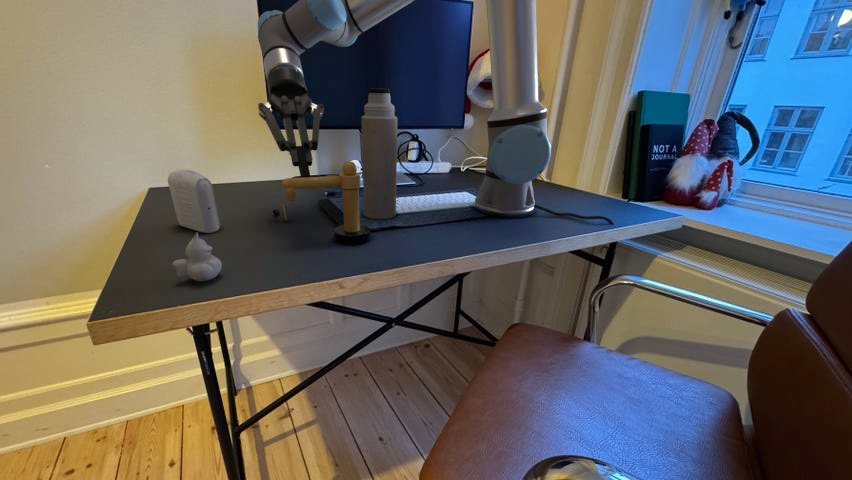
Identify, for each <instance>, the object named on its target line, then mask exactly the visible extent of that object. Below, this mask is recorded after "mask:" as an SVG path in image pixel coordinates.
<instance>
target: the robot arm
mask: <svg viewBox="0 0 852 480" xmlns="http://www.w3.org/2000/svg"><path fill="white" fill-rule="evenodd" d="M414 1H415V0H298V1H297V2H296V3H294V4H293V5H292V6H290V7H289V8H288V9H287V10H285V11H284V12H283V11H281V10H278V9H273V10H267V11H264V12H263V13H262V14H261V15H260V16H259V18H258V20H257V41H258V44H259V47H260V50H261V56H262V62H263V68H264V74H265V78H266V84H267V90H268V95H269V97H268V99H267V102H265V103H263V102H259V103H258V104H257V109H258V116H260V118H261V119H262V120H263V121H265V123H266V126H267V127H268V129H269V131H270V133H271V135H272V137H273V139H274V141H275V143H276V145H277V148H278V149H279V151H280V152H288V153H289V156H290V159H291V164H292V166H293V167H298V171H299V175H300V178H304V177H311V171H310V167H312V166H313V154H312V151H314V152H315V151H317V150H318V148H319V135H320V122H321V120H322V118H323V116H324V108H325V106H324V104H323V103H318V104H316V103H313V100H312V98H311V97H310V96H309V93H308V90H307V85H306V80H305V76H304V72H303V67H302V62H301V59H300V58H301V57H300V56H301V54H303V53H304V52H306V51H308V50H310V48H312V47H313V46H315V45H316V44H317V43H319V42H320V41H321V42H324V43H328V44H331V45H333V46H335V47H338V48H345V47H350V46H351V45H353V44H354V43H355V42H356V41H357V39H358V36H360V35H361V34H363V33H364V32H366V31H367V30H369V29H371V28H372V27H374V26H376V25H377V24H379V23H380V22H382V21H383V20H385V19H387V18H388V17H390V16H391V15H393V14H395V13H397V12H398V11H400V10H401V9H403V8H405V7H407V6H408V5H410V4H411V3H412V2H414ZM485 3H486V17H487V28H488V29H487V31H488V33H487V34H488V46H489V60H490V74H491V90H492V91H491V92H492V103H493V110H492V111H491V112H490V114H488V115H489V116H488V117H486V122H487V123H486V124H487V125H486V127H487V139H488V140H487V141H488V147H487V155H486V163H485V173H484V178H483V180H482V183H481V185H480V187H479V189H478V191H477V192H476V194H475V199H474V205H473V207H474V208H475V210H477V211H478V212H480V213H483V214H486V215H490V216H495V217H502V218H522V217H528V216H531V215H533V214H534V212H535V209H538V210H541V211H544V212H546V213H548V214H550V215H553V216H556V217H563V216H564V217H565V216H567V217H573V218H576V219H580V220H603V221H606V222H607V223H608V224H610V225H613V226H614V225H615V223H614V222H613V220H612V219H610V218H609V217H607V216H604V215H582V214H581V215H580V214H577V213H575V212H574V213H573V212H556V211H553V210H551V209H549V208H546V207H544V206H542V205H538V204H536V203H535V196H534V195H535V194H534V188H533V180H535V179H536V178H538V177H539V176H540V175H541V174H543V172H544V171H545V169H546V168H547V166H548V165H549V162H550V160H551V155H552V144H551V141H550V139H549V136H548V117H547V116H548V109H547V107H545V106H544V105H543V104H542V103H541V102H540V100H539V75H538V73H539V72H538V71H539V69H538V31H537V30H538V29H537V28H538V25H537V23H538V22H537V0H485ZM310 111H311V115H312V117H313V122H312V134H311V140H310V139H309V138H310V137H309V134H308V133H309V132H308V129H307V125H306V120H305V118H306V116H307V115H308V113H309V112H310ZM273 112H274V114H276V115H277V116H278V117H279V118H281V119H282V122H283V126H284V129H285V130H284V131H285V135H286V138H285V136H284V134H283V132H282V130H281V127H280V125H279V124H278V122H277V120H276V118H275V115H274V114H273ZM293 121H295V122H296V123H295V124H296V126H297V130H298V135H299V139H300V144H301V145H297V141H296V136H295V132H294V127H293Z"/></svg>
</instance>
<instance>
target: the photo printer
mask: <svg viewBox="0 0 852 480" xmlns="http://www.w3.org/2000/svg"><path fill="white" fill-rule="evenodd" d="M167 184H168V187H169V192H170V196H171V200H172V204H173V207H174V211H175V212H174V213H175V216H176V220H177V223H178V225H179V226H181V227H183V228H187V229H190V230H193V231H196V232H200V233H205V234H212V233H216V232H217V231H219V230H220V228H221V223H220V217H219V213H218V212H219V211H218V207H217V203H216V198H215V192H214V188H213V184H212V182H211V180H210V179H209V178H208V177H206V176H205V175H204V174H201V173H200V172H198V171H195V170H192V169H185V168H184V169H176V170H173V171H171V172H170V173H169V174H168V176H167Z"/></svg>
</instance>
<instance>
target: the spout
mask: <svg viewBox="0 0 852 480" xmlns="http://www.w3.org/2000/svg"><path fill="white" fill-rule="evenodd" d="M341 170H342V172H340V173H339V174H338V175H327V176H310V177H304V178H301V177H288V178H284V179H283V181H282V183H281V184H282V187H283V188H284V190H285V197H286V200H287V201H288V202H292V203H293V202H295V201H296V199H297V192H296V191H297V190H303V189H321V188H322V189H323V188H337V187H339V188H341V189H342V188H343V189H357V188H359V189H360V188H361V184H362V183H361V173H359V172H358V167H357V165H356V163H355V162H354V161H351V160H347V161H345V162H344V163H343V164H342V167H341Z"/></svg>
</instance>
